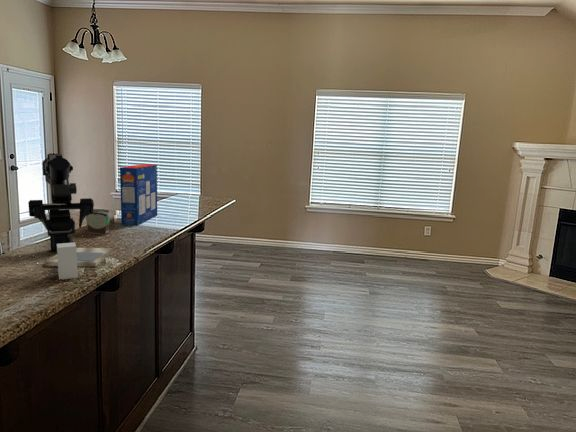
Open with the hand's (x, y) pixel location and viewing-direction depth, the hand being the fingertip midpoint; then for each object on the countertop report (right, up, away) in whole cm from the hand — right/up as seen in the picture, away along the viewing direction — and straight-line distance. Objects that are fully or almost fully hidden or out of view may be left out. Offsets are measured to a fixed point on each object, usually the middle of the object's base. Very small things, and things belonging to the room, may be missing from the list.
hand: (64, 228), depth 134 cm
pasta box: (-5, +2, +84) cm, 84 cm away
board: (-2, -11, +14) cm, 18 cm away
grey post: (+3, -15, -4) cm, 16 cm away
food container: (-12, -4, +53) cm, 55 cm away
